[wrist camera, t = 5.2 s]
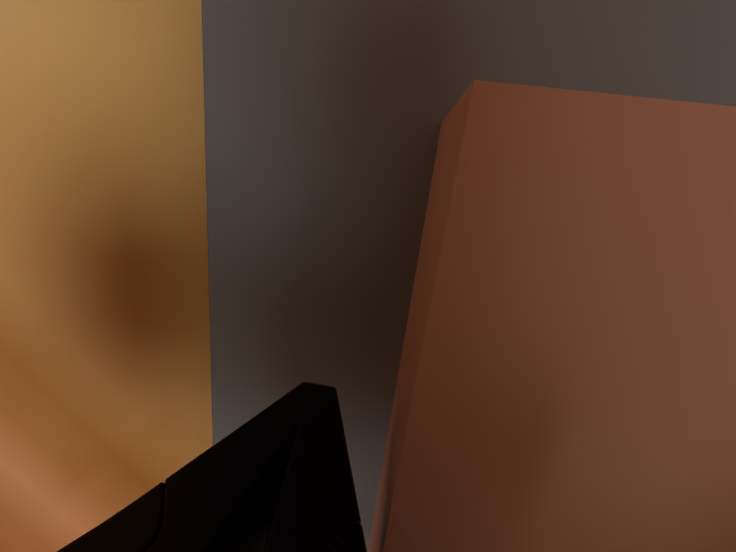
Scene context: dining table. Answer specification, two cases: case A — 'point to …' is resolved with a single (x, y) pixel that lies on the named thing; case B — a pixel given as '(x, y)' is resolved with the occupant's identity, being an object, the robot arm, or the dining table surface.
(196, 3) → the dining table surface
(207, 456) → the robot arm
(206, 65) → the board
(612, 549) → the t block
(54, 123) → the dining table surface
